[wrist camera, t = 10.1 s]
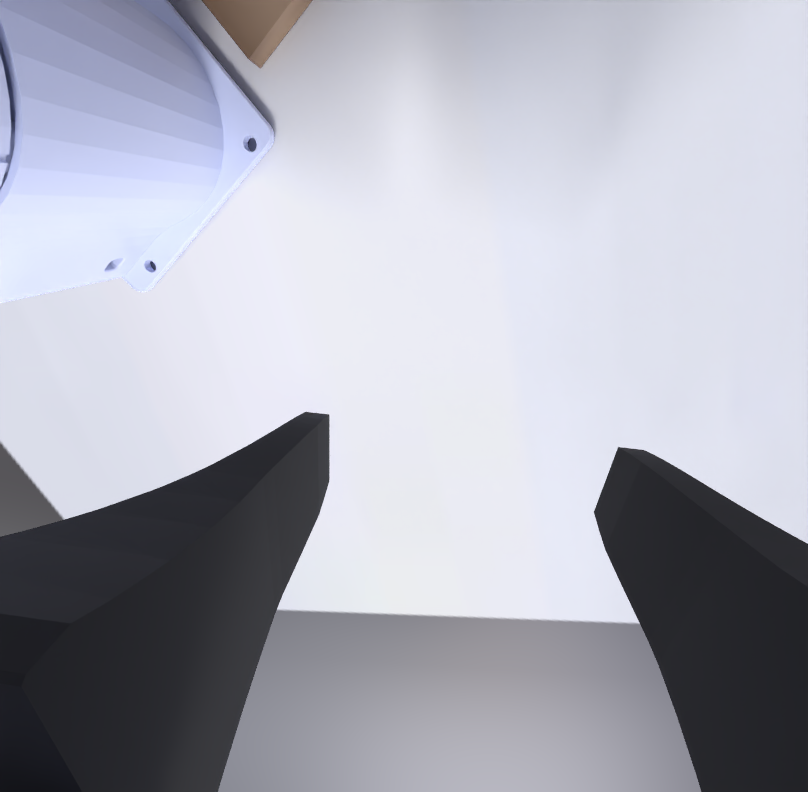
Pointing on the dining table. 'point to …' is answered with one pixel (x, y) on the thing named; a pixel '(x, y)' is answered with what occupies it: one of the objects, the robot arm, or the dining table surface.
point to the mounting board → (257, 23)
